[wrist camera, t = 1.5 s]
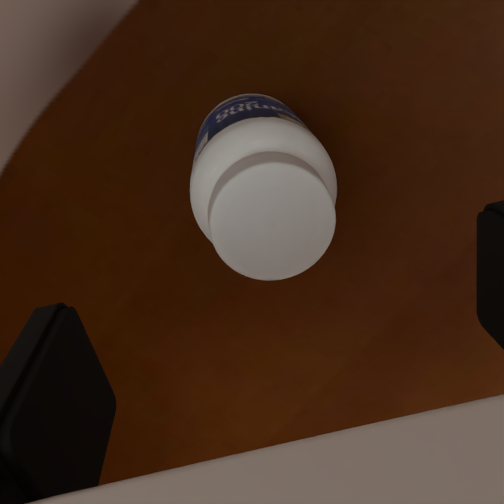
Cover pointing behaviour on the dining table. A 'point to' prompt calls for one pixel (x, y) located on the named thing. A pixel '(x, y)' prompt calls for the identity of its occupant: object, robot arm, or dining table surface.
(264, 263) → the pill bottle
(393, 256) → the dining table surface
